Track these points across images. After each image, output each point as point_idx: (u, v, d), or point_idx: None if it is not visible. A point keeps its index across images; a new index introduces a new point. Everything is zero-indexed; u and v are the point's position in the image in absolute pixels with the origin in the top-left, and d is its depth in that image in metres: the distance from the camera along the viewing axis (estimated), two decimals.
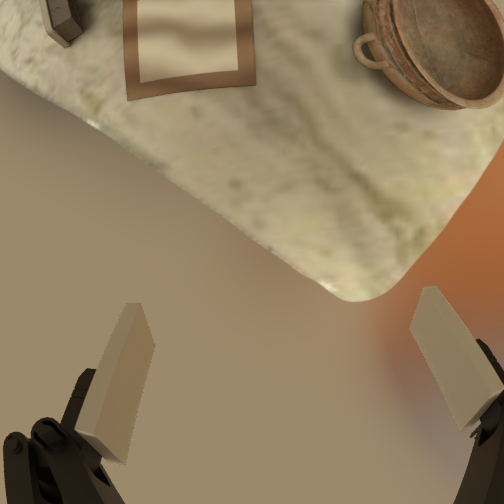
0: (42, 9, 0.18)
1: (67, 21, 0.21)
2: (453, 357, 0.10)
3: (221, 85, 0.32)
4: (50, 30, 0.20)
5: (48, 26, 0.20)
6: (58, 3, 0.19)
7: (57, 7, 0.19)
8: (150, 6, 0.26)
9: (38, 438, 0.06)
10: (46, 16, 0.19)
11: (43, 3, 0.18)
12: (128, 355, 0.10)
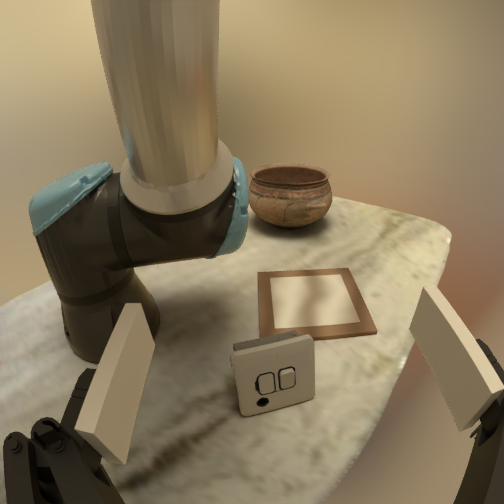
0: (274, 345, 0.27)
1: None
2: (453, 357, 0.10)
3: (353, 281, 0.48)
4: (310, 337, 0.29)
5: (304, 336, 0.28)
6: (270, 342, 0.29)
7: (276, 341, 0.29)
8: (284, 320, 0.41)
9: (38, 438, 0.06)
10: (288, 340, 0.28)
11: (265, 346, 0.28)
12: (128, 355, 0.10)
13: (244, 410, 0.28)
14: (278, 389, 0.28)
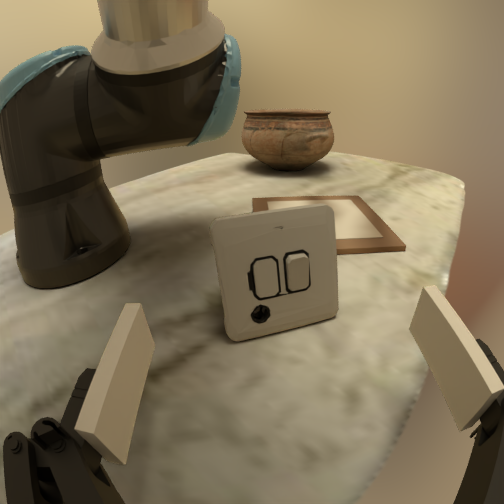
0: (277, 211, 0.19)
1: None
2: (453, 357, 0.10)
3: (366, 205, 0.40)
4: None
5: (319, 204, 0.20)
6: None
7: None
8: None
9: (38, 438, 0.06)
10: (297, 207, 0.19)
11: (263, 211, 0.19)
12: (128, 355, 0.10)
13: (232, 328, 0.19)
14: (284, 291, 0.20)
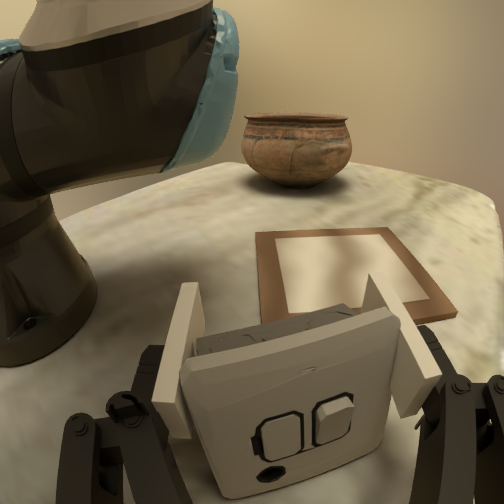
0: (307, 340, 0.09)
1: None
2: None
3: (400, 242, 0.30)
4: None
5: (379, 311, 0.10)
6: (288, 332, 0.11)
7: (304, 331, 0.11)
8: (304, 298, 0.23)
9: (113, 411, 0.07)
10: (341, 323, 0.10)
11: (279, 341, 0.10)
12: (192, 330, 0.12)
13: (228, 491, 0.10)
14: (310, 446, 0.10)
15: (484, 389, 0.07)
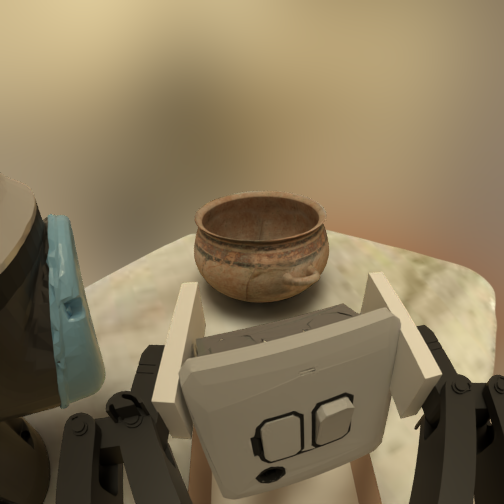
0: (307, 340, 0.09)
1: None
2: None
3: None
4: None
5: (379, 312, 0.10)
6: (288, 333, 0.11)
7: None
8: None
9: (112, 411, 0.07)
10: (341, 324, 0.10)
11: (279, 342, 0.09)
12: (192, 330, 0.12)
13: (228, 491, 0.10)
14: (310, 447, 0.10)
15: (484, 389, 0.07)
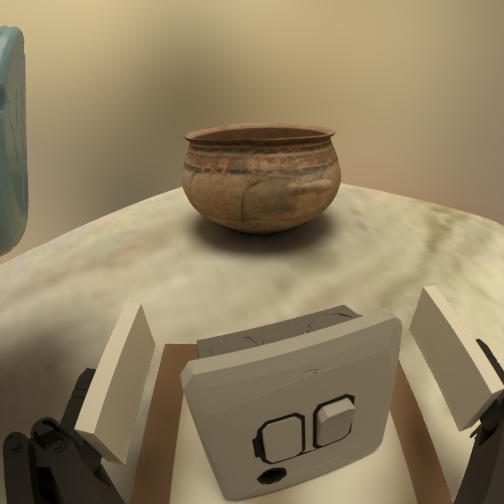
0: (308, 342, 0.09)
1: None
2: (453, 357, 0.10)
3: (401, 372, 0.17)
4: None
5: (380, 314, 0.10)
6: (289, 334, 0.11)
7: None
8: None
9: (38, 438, 0.06)
10: (343, 325, 0.10)
11: (281, 344, 0.09)
12: (128, 355, 0.10)
13: (229, 492, 0.10)
14: (311, 448, 0.10)
15: None
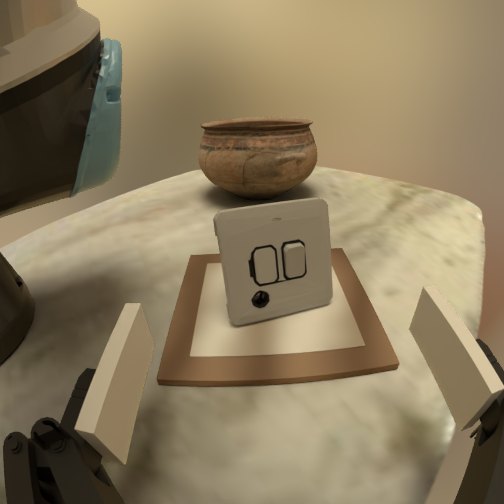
0: (275, 204, 0.21)
1: None
2: (453, 357, 0.10)
3: (351, 268, 0.28)
4: None
5: (314, 198, 0.22)
6: None
7: None
8: (213, 339, 0.21)
9: (38, 438, 0.06)
10: (293, 200, 0.21)
11: (262, 204, 0.21)
12: (128, 355, 0.10)
13: (234, 313, 0.21)
14: (282, 278, 0.21)
15: None
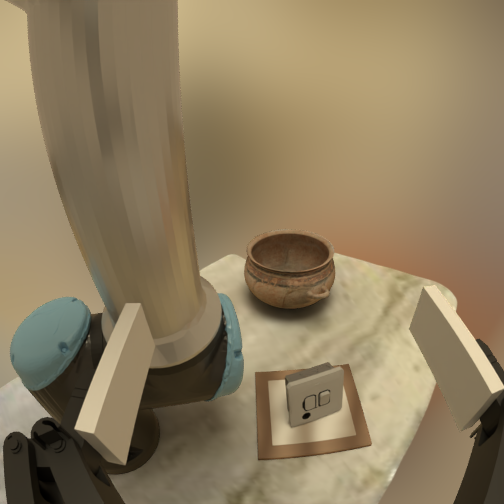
0: (317, 376, 0.37)
1: None
2: (453, 357, 0.10)
3: (353, 382, 0.44)
4: (340, 368, 0.38)
5: (337, 368, 0.38)
6: (311, 373, 0.39)
7: (316, 372, 0.38)
8: (282, 435, 0.37)
9: (38, 438, 0.06)
10: (326, 371, 0.37)
11: (310, 377, 0.37)
12: (128, 355, 0.10)
13: (293, 422, 0.37)
14: (317, 406, 0.37)
15: None
